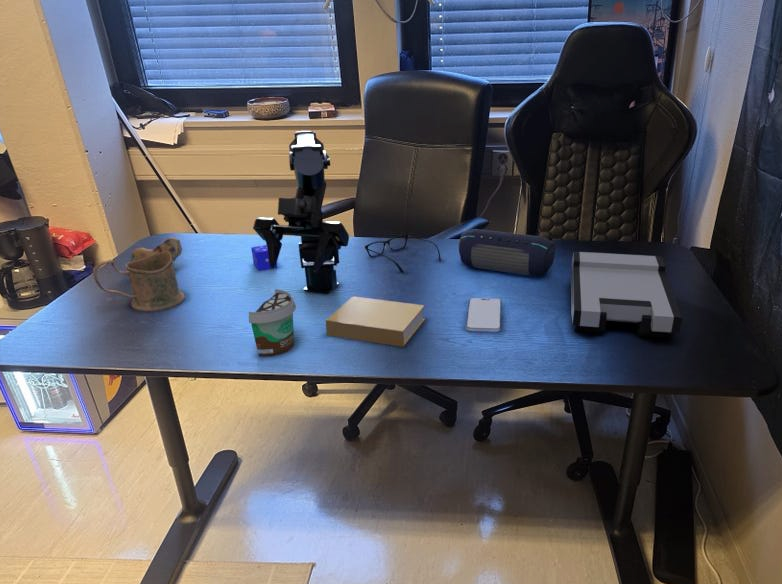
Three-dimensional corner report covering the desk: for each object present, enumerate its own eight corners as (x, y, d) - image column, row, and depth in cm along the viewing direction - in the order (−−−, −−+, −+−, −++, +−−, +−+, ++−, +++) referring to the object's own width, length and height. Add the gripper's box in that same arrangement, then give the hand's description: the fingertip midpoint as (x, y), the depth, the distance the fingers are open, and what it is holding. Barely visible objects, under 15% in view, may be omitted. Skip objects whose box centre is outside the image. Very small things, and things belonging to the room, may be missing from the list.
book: (326, 335, 131) (325, 320, 129) (353, 310, 142) (352, 296, 140) (403, 347, 126) (402, 331, 125) (424, 319, 137) (424, 305, 136)
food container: (284, 363, 120) (278, 316, 116) (255, 360, 122) (247, 313, 117) (309, 335, 131) (304, 290, 126) (282, 332, 132) (276, 288, 127)
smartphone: (465, 327, 132) (469, 297, 145) (465, 332, 133) (469, 302, 146) (500, 329, 132) (501, 298, 145) (500, 333, 132) (501, 303, 145)
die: (258, 271, 163) (255, 252, 161) (253, 265, 167) (250, 247, 164) (277, 267, 165) (275, 249, 163) (272, 262, 169) (269, 244, 167)
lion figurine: (188, 267, 166) (181, 234, 161) (185, 274, 161) (178, 240, 157) (128, 271, 163) (119, 237, 158) (123, 279, 158) (114, 244, 154)
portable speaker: (452, 270, 164) (452, 233, 159) (465, 258, 172) (466, 222, 167) (546, 284, 156) (550, 245, 151) (556, 270, 164) (559, 233, 159)
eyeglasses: (408, 245, 181) (408, 232, 179) (445, 259, 171) (445, 245, 169) (362, 259, 171) (361, 245, 169) (398, 274, 161) (397, 259, 159)
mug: (95, 309, 142) (80, 258, 136) (170, 287, 153) (159, 239, 148) (117, 324, 135) (102, 272, 129) (194, 300, 147) (183, 251, 141)
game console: (570, 341, 129) (574, 304, 125) (570, 283, 156) (573, 251, 152) (675, 349, 126) (683, 311, 122) (656, 288, 153) (662, 256, 149)
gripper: (249, 177, 124) (231, 248, 120) (339, 181, 121) (323, 254, 117) (272, 206, 135) (256, 273, 131) (355, 211, 132) (341, 279, 127)
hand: (293, 269), depth 126 cm, fingers open, 9 cm apart
